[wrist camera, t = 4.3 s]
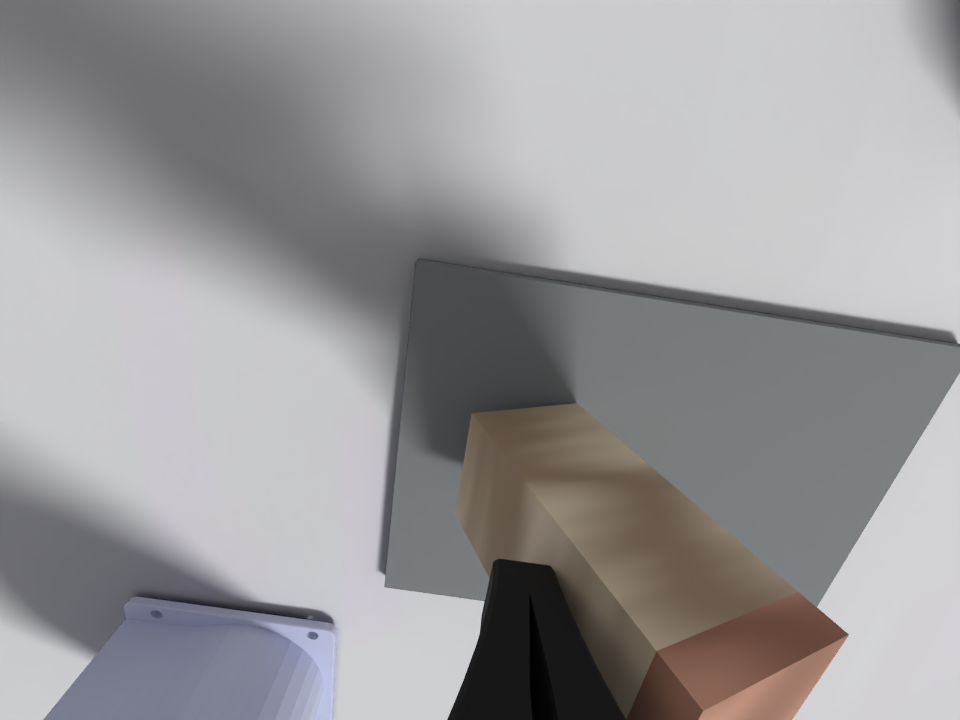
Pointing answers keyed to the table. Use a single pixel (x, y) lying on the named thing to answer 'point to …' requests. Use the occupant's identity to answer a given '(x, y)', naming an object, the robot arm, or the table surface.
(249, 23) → the table surface
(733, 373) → the rubber mat
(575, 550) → the maple block
